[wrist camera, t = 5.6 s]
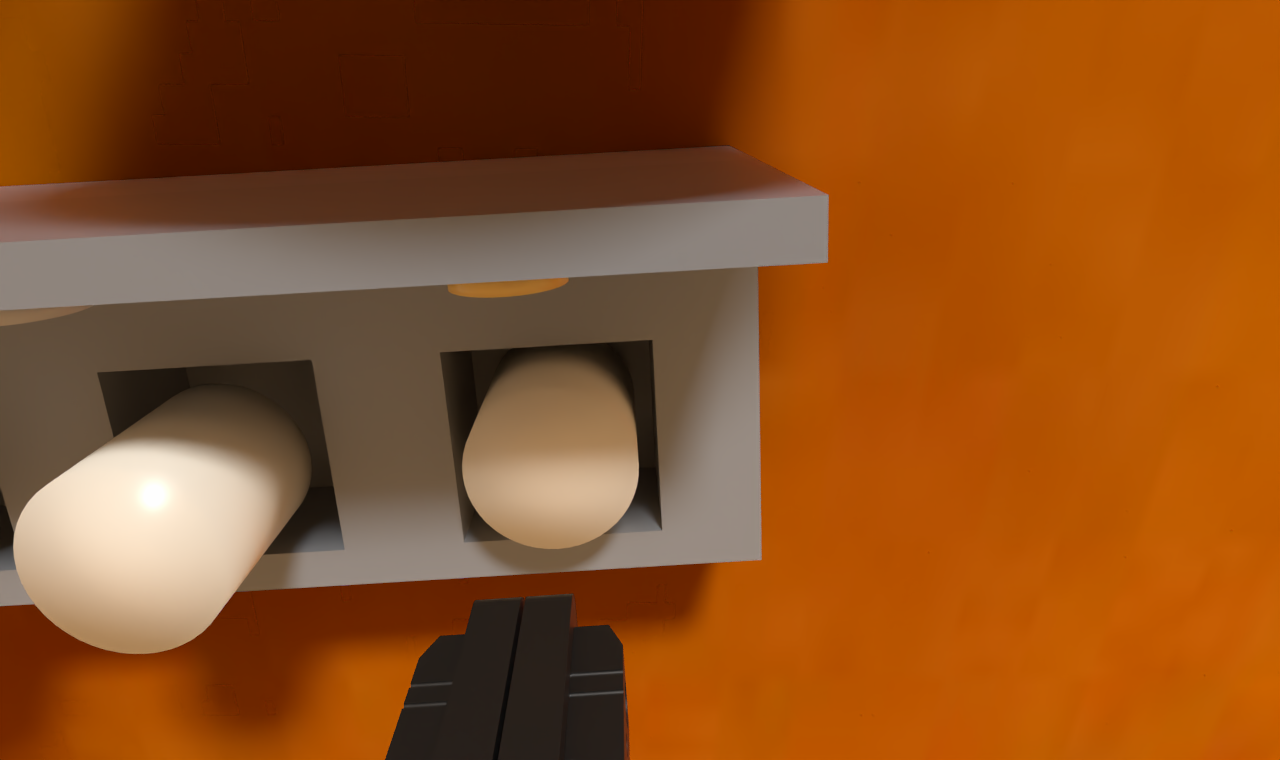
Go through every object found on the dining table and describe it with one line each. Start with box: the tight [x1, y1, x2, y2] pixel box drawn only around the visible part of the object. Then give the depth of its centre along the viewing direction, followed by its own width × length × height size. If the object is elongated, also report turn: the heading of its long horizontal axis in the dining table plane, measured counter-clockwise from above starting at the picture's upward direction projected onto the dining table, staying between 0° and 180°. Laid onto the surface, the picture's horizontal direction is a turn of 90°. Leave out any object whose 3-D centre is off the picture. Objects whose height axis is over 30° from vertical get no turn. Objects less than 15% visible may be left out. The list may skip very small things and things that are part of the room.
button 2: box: [462, 343, 639, 549], centre depth 23 cm, size 4×4×5 cm
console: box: [0, 145, 829, 606], centre depth 20 cm, size 10×26×12 cm, turn 93°
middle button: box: [13, 384, 312, 654], centre depth 20 cm, size 4×4×5 cm
